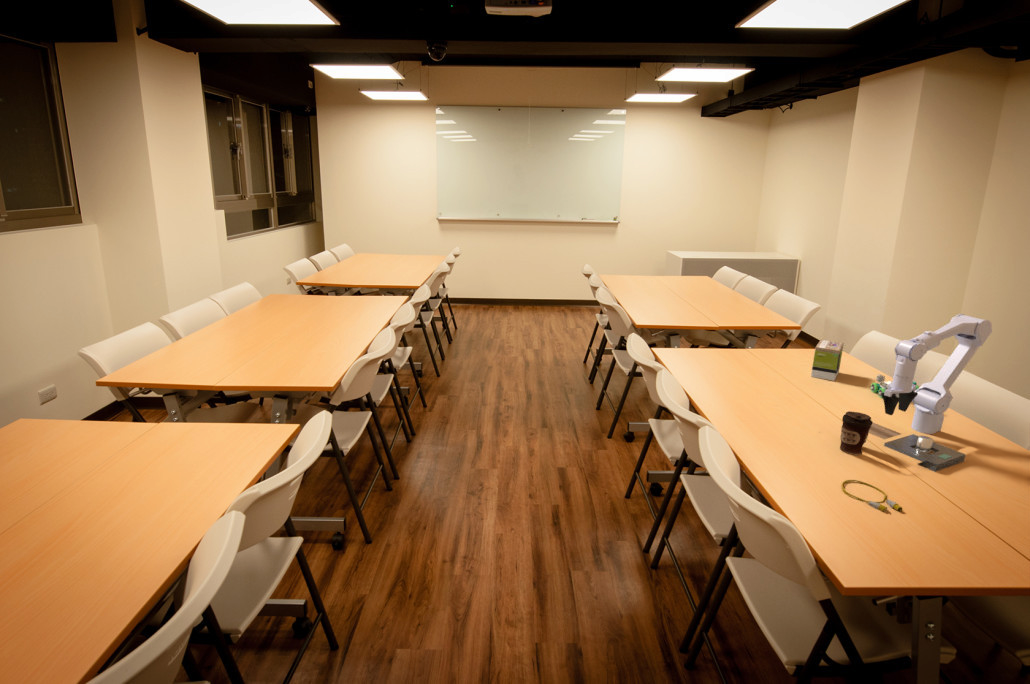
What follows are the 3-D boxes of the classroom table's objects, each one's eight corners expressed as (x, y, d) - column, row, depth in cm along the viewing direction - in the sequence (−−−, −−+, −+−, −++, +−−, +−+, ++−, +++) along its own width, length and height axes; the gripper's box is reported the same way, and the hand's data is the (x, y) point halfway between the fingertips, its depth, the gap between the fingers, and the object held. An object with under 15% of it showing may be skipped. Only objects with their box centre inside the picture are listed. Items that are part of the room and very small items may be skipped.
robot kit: (897, 411, 218) (902, 389, 215) (864, 388, 241) (869, 368, 239) (947, 413, 216) (953, 391, 213) (909, 390, 240) (914, 369, 237)
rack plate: (911, 440, 192) (913, 433, 191) (963, 461, 178) (965, 454, 178) (883, 449, 185) (884, 442, 185) (935, 471, 172) (937, 464, 171)
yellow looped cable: (855, 510, 151) (856, 504, 151) (834, 481, 166) (835, 475, 166) (904, 516, 149) (905, 509, 149) (878, 485, 164) (879, 479, 164)
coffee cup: (854, 459, 179) (862, 422, 175) (830, 448, 186) (837, 412, 182) (870, 453, 182) (878, 417, 179) (846, 443, 190) (853, 408, 186)
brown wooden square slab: (872, 426, 203) (873, 422, 202) (900, 437, 194) (901, 433, 194) (855, 431, 199) (855, 427, 198) (883, 443, 190) (884, 439, 190)
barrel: (919, 451, 185) (923, 434, 183) (931, 456, 181) (936, 440, 179) (911, 453, 183) (915, 436, 181) (923, 458, 180) (928, 441, 178)
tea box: (815, 368, 265) (820, 338, 261) (839, 372, 260) (844, 342, 256) (810, 376, 254) (815, 346, 250) (834, 381, 248) (840, 350, 244)
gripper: (904, 369, 195) (896, 404, 198) (878, 374, 188) (870, 411, 192) (926, 375, 189) (917, 412, 192) (900, 381, 182) (891, 419, 186)
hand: (895, 412), depth 192 cm, fingers open, 7 cm apart
